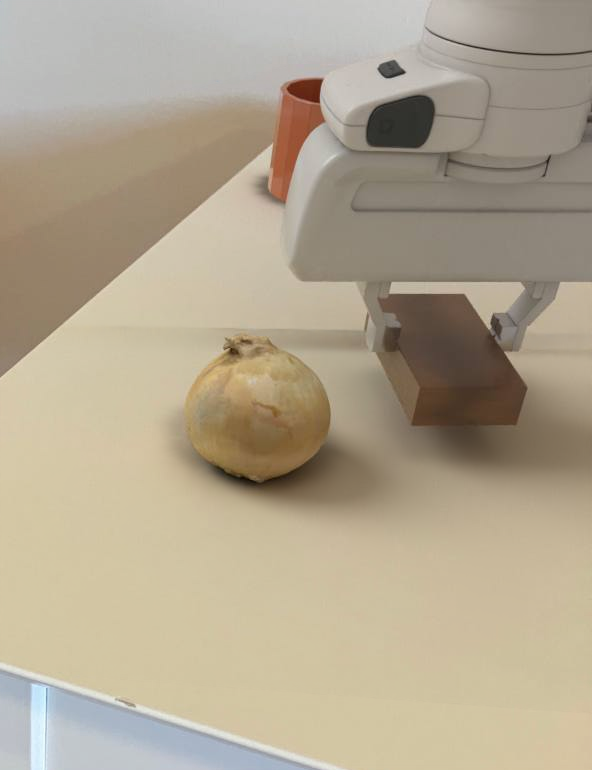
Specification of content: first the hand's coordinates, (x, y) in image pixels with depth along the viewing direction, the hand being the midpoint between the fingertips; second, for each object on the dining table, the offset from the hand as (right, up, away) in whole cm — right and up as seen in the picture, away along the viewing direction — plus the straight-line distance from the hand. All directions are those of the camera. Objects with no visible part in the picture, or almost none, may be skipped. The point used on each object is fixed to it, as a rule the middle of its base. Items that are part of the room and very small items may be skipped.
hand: (440, 348), depth 65 cm
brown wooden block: (0, -1, +1) cm, 2 cm away
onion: (-11, -7, -2) cm, 14 cm away
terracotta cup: (-2, +19, +28) cm, 34 cm away
